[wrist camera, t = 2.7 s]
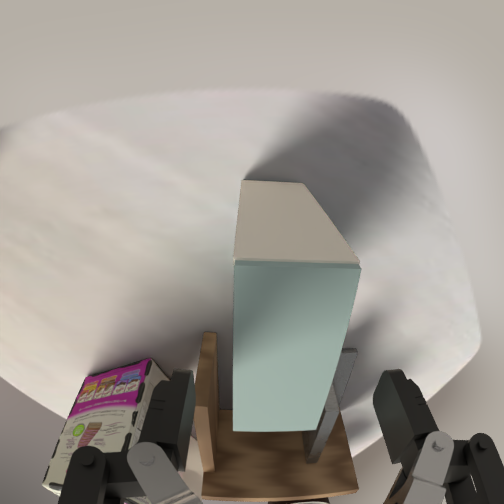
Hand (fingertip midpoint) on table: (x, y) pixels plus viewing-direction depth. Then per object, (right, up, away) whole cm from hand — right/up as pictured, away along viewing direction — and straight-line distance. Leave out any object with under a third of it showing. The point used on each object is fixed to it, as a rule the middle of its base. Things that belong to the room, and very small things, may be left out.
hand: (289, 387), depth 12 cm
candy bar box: (-16, -9, +21) cm, 28 cm away
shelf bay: (+2, -8, +20) cm, 22 cm away
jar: (-13, -22, +27) cm, 37 cm away
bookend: (+7, -9, +21) cm, 23 cm away
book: (0, +6, +14) cm, 15 cm away
